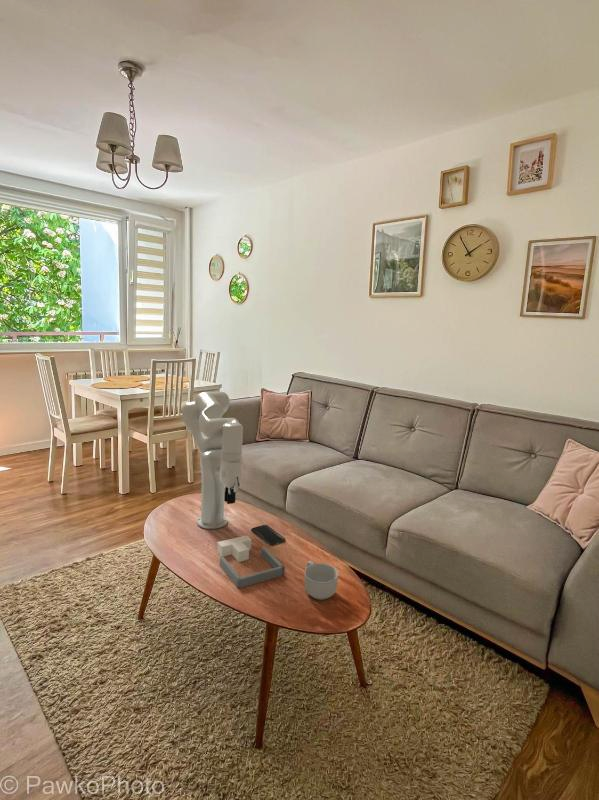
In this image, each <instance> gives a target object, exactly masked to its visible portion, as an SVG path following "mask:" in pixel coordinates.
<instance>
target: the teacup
mask: <svg viewBox="0 0 599 800" xmlns="http://www.w3.org/2000/svg"><path fill="white" fill-rule="evenodd" d="M338 577H339V572H338V569H337V568H336V567H334V565H331V564H329V563H324V562H318V563H317V562H315V563H314V561H313V560H308V561H307V562H306V567H305V569H304V588H305V592H306V593H307V595H309V596H310V597H312V598H314V599H316V600H320V601H321V600H322V601H323V600H327V599H328V598H331V597H333V596H334V595H335V594H336V592H337V588H338Z"/></svg>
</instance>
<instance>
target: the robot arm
mask: <svg viewBox="0 0 599 800" xmlns="http://www.w3.org/2000/svg"><path fill="white" fill-rule="evenodd" d="M230 403H231V401H230V397H229V395H228V394H227V393H226V392H225V391H203V392H200V393H198V394H197V395H196V397H195V399H194V401H189V402H187V403H185V404H184V405H183V406H182V408H181V416H182V421H183V423H184V425H185V427H186V429H187V431H189V433H190V434H191V435H192V438H193V440H194V442H195V443H194V444H195V446H196V447H197V451H198V452H199V454H200V458H199V462H200V463H199V464H200V471H201V473H200V474H201V496H200V497H201V500H200V503H201V505H200V506H201V507H200V516H199V517H198V518H197V520H196V524H197V526H199V527H200V528H203V529H206V530H214V529H220V528H223V527H225V526H226V525H227V523H228V518H227V516H225V503H226V504H227V505H231V504H232V505H233V504H235V503H236V494H237V492H239V491H240V490H239V488H240V487H241V485H242V483H241V482H242V467H243V464H244V459H243V440H244V439H243V438H244V437H243V435H244V427H243V425H242V424H241V423H240V422H239V420H238V419H237V418H236V417H223V416H224V414H225V413H226V412H227V411H228V409H229V408H230Z"/></svg>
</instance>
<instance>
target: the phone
mask: <svg viewBox="0 0 599 800" xmlns="http://www.w3.org/2000/svg"><path fill="white" fill-rule="evenodd" d="M250 530H251V532H252V533H253V534H254V535H255V534H256V535H255V536H257V537H258V538H259V537H260V538H259V539H260V540H262V541H263V540H264V541H265V542H264V541H263V542H264V543H266V544H267V545H268V544H269V546H270V545H272V546H274V544H276V545H278V544H277V543H279V544H282V543H284V541H285V542H286V537H284V536H283V535H281V534H280V533H279V532H277V531H276V530H275V529H273V528H272V527H270V526H269V525H267V524H262V525H259V526H255V527H252V528H251V529H250ZM281 542H282V543H281Z"/></svg>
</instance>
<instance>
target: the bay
mask: <svg viewBox="0 0 599 800" xmlns="http://www.w3.org/2000/svg"><path fill="white" fill-rule="evenodd" d="M260 556H261V557H262V558H263V559H264V560H265V561H266V562H267V563H268V564H269V565H270V566H271V568H268V569H266V570H261V571H257V572H254V573H251V574H247V575H244V576H240V575H239V574H238V572H236V570H235V569H234V568H233V567H232V566H231V564H230V563H229V562H228V560H227V559H226V558H225V556H223V557H221V556H220V558H219V567H221V569H222V570H223V571H224V572H225V574H226V575H227V576H228V578H229V579H230V581H233V582H232V583H233V584H234V585H235V587H236V586H237V587H236V589H242V588H245V587H248V585H249V586H252V585H255V584H258V583H262V582H265V580H266V581H269V580H272V579H275V578H279V577H282V576H285V569H286V567H285V565H283V564H282V563H281V562H280V561H279V559H277V557H275V556H274V555H273V554H272V553H271V552H270V551H269V550H268V549H267V548H266V547H265V546H261V547H260ZM241 587H242V588H241Z"/></svg>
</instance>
